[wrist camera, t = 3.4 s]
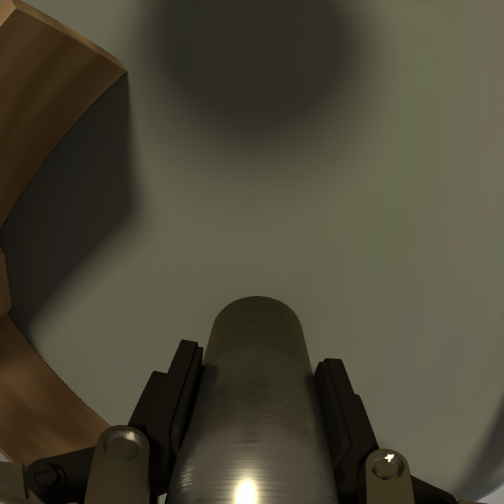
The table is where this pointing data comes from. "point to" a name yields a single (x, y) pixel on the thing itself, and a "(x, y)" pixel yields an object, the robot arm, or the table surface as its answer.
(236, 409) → the pin
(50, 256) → the table surface
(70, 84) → the hinge
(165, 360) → the table surface
